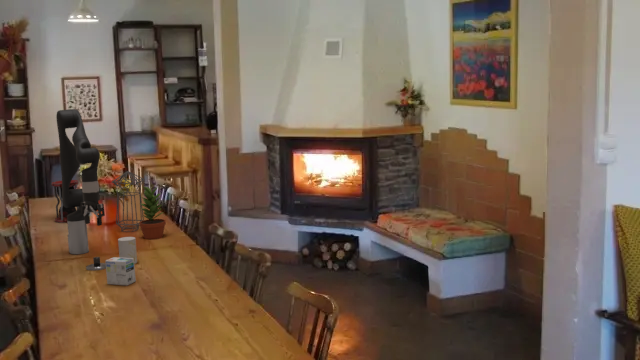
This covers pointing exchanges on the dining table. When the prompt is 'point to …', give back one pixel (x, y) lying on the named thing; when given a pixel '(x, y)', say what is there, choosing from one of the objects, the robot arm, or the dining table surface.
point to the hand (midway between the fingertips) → (93, 224)
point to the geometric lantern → (131, 198)
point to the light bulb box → (120, 271)
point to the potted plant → (151, 216)
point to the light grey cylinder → (127, 248)
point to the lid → (96, 265)
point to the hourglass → (62, 211)
